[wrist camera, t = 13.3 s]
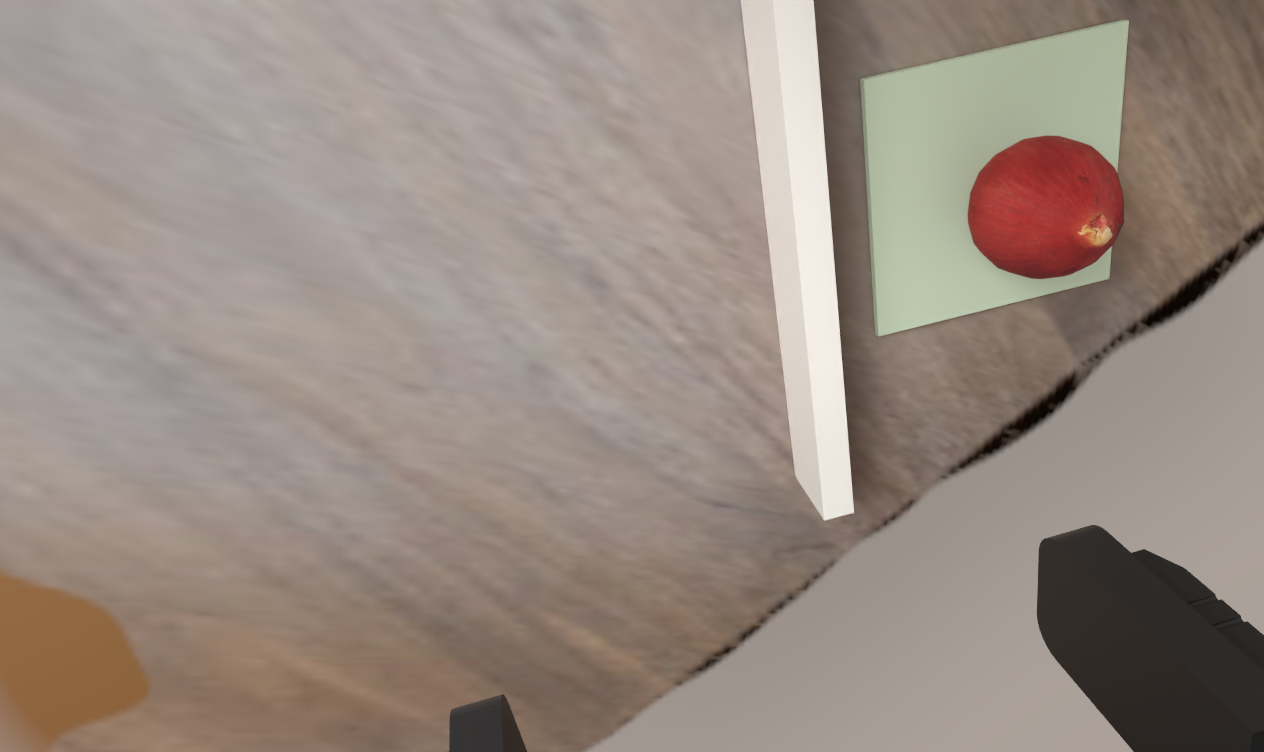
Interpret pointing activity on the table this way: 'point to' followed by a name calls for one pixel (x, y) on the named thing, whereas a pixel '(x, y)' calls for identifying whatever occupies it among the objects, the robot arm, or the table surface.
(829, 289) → the low wall
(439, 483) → the table surface
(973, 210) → the onion
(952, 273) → the mat
